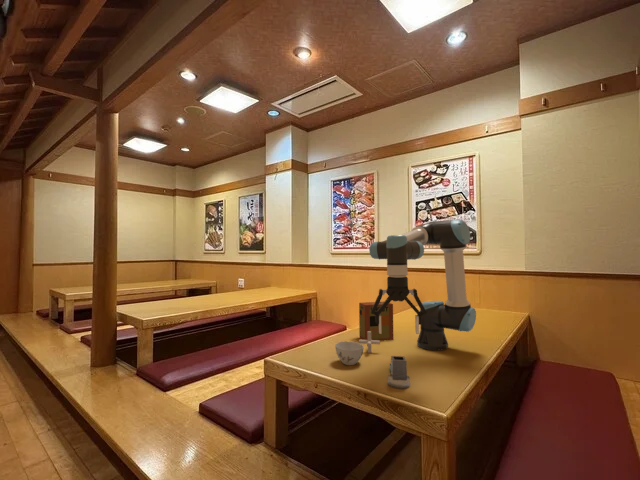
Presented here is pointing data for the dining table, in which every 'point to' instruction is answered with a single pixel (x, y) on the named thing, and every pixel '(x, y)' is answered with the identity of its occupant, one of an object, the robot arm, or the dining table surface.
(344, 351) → the teacup
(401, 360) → the square hollow tube
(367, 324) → the box
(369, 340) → the pipe connector
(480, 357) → the dining table surface
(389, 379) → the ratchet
